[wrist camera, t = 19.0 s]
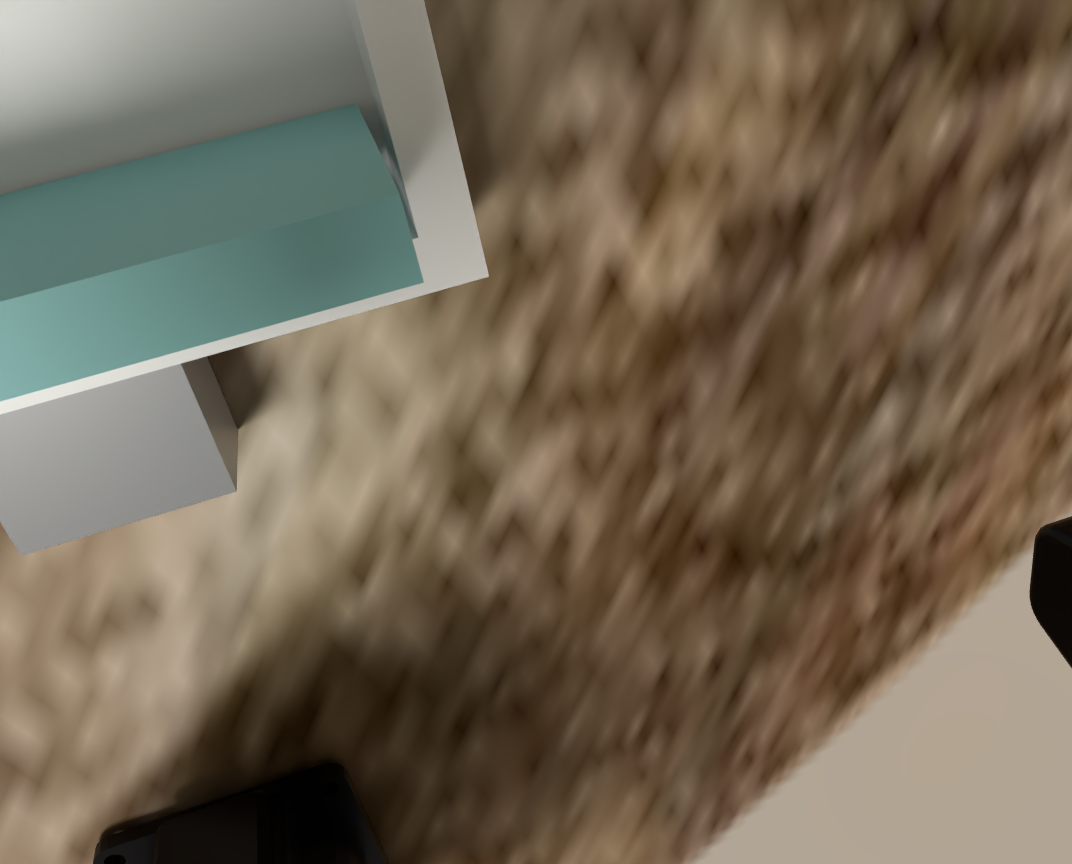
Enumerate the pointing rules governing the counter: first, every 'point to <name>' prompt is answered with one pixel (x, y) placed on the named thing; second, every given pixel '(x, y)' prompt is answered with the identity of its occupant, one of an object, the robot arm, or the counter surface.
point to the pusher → (196, 248)
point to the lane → (176, 122)
